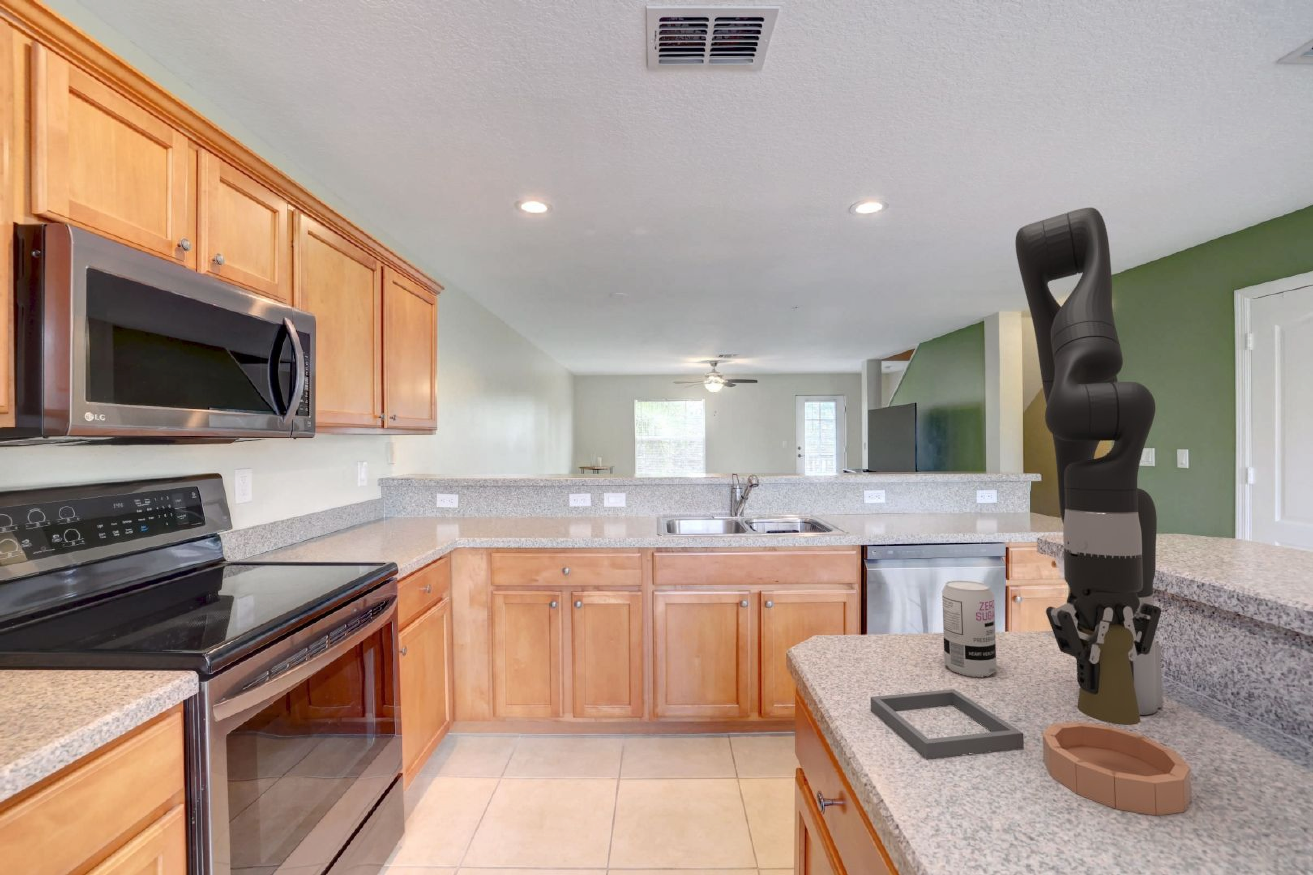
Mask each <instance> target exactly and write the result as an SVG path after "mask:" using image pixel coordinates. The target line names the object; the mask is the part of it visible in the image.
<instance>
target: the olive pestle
mask: <svg viewBox="0 0 1313 875" xmlns="http://www.w3.org/2000/svg"><path fill="white" fill-rule="evenodd" d="M1081 631H1082V632H1083V633H1086V634H1089V635H1091V636H1092V635H1093V634H1094V632H1095V631H1090V630H1088V629H1084V628H1083V627H1082V626H1081ZM1083 642H1084V644H1085V645H1086V648H1085V650H1088V646H1089V642H1088V641H1087V640H1084V639H1083ZM1133 645H1134V637H1133V634H1132V632H1131V631H1130V630H1129V629H1128V628H1125V627H1123V626H1121V625H1118V624H1115V625H1109V628H1108V631H1107V633H1106V634H1105V638H1104V644H1102V645H1099V648H1100V656H1099V661H1098V662H1097V663H1099V664H1100V678H1099V688H1098V693H1097V694H1091V693H1089V692H1087V691H1085V690H1083V689H1082V688H1081V687H1080V686H1079V691H1078V699H1077V705H1076V706H1077V707H1076V709H1078V711H1079V712H1080V713H1082V714H1083V715H1085V716H1087V717H1089V718H1092V719H1094V720H1098V721H1100V722H1104V723H1109V724H1114V725H1121V726H1133V725H1138V724H1140V723H1141V715H1140V714H1139V709H1138V703H1137V698H1136V693H1135V687H1134V682H1133V677H1132V671H1131V666H1130V660H1129V655H1128V653H1129V652H1130V651H1131V650H1132V648H1133Z"/></svg>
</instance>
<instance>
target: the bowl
mask: <svg viewBox="0 0 1313 875" xmlns="http://www.w3.org/2000/svg"><path fill="white" fill-rule="evenodd" d="M1042 754H1043V755H1042V758H1043V763H1044V765H1045V767H1046V769H1047V771H1048V772H1049V775H1050V777H1052V778H1053V779H1055V780H1056V781H1057V782H1059V783H1060V784H1062V785H1063V786H1064V787H1066V788H1067V789H1069V790H1071V791H1072V792H1073V793H1075V794H1077V795H1079V796H1081V797H1083V798H1087V799H1089V800H1091V801H1094V802H1097V803H1100V804H1102V805H1104V806H1107V807H1110V808H1112V809H1116V810H1120V811H1126V812H1127V811H1128V812H1131V813H1132V812H1133V813H1139V814H1145V815H1148V816H1155V817H1156V816H1165V815H1173V814H1178V813H1180V814H1181V813H1185V812H1186V810H1187V808H1188V806H1189V805H1190V802H1191V800H1192V782H1191V781H1192V780H1191V778H1192V777H1191V767H1190V765H1189V764H1188V763H1187V762H1186V761H1185V760H1184V759H1183V757H1181V756H1180V755H1179V754H1178V753H1177V751H1175V750H1173V749H1172V748H1170V747H1168V746H1166V745H1163V744H1162V743H1160V742H1157V741H1156V740H1154V739H1152V738H1150V737H1148V736H1145V735H1144V734H1140V733H1139V734H1138V733H1136V732H1133V731H1132V732H1131V731H1130V730H1126V729H1122V728H1118V727H1116V726H1113V725H1112V726H1111V725H1107V724H1099V723H1091V722H1084V721H1069V722H1060V723H1059V722H1058V723H1052V724H1051V725H1050V726H1049V727H1048V728H1046V729H1045V730H1044V731H1043V732H1042Z"/></svg>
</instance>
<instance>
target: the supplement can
mask: <svg viewBox="0 0 1313 875" xmlns="http://www.w3.org/2000/svg"><path fill="white" fill-rule="evenodd" d="M990 587H991V586H990V585H988V584H985V583H982V582H977V581H971V580H950V581H947V582H945V585H944V587H943V589H942V591H941V592H942V593H941V595H942V596H941V597H942V598H941V599H942V601H941V602H942V626H943V630H942V632H943V654H944V655H943V656H944V657H943V658H944V659H943V660H944V665H946V667H947V668H948V669H949V670H950V671H951V670H952V672H953V671H954V673H955V672H957V673H956V674H958V673H959V674H958V675H961V674H962V676H965V675H966V677H970V676H977V677H976V678H983V677H982V676H987V677H991V676H992V675H993V674H994V673H995V672H996V671H997V668H998V667H997V643H996V641H997V640H996V638H997V637H996V612H995V609H996V606H995V595H994V593H993V592H992V590H991V588H990ZM992 673H993V674H992ZM991 674H992V675H991ZM990 675H991V676H990ZM978 676H979V677H978Z"/></svg>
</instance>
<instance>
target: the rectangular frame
mask: <svg viewBox="0 0 1313 875" xmlns="http://www.w3.org/2000/svg"><path fill="white" fill-rule="evenodd" d="M948 705H951V706H953V705H954V706H956V707H957V708H959V709H960V710H962V711H963V712H964V713H963V712H962V711H961V712H962V713H963V714H965V713H966V714H967V715H966V714H965V715H966V716H968V715H969V716H970V717H969V716H968V717H969V718H971V719H972V718H973V719H972V720H974V719H975V720H976V721H975V720H974V721H975V722H977V723H978V722H979V723H981V724H982V725H983V726H982V725H981V724H980V725H981V726H982V727H984V728H985V727H986V728H985V729H987V728H988V729H989V730H988V729H987V730H988V732H981V733H971V734H962V735H960V734H959V735H953V736H944V737H934V738H928V737H927V736H926V735H924V734H923V733H922V732H921V731H920V730H918V729H917V728H916V727H914V725H913V724H911V723H909V722H908V720H906V719H905V718H904V717H902V716H901V715H900V714H899V713H898V712H899V711H907V710H918V709H929V708H938V706H941V707H949V706H948ZM954 706H953V707H954ZM956 707H955V708H956ZM957 708H956V709H957ZM959 709H958V710H959ZM960 710H959V711H960ZM870 711H871V712H872V713H873V714H875V715H876V716H877V717H878V718H879V719H880V720H882V721H883V723H885V724H886V725H888V727H889V728H890V729H891V730H893V731H894V732H895V733H896V734H897V735H898V736H900V737H901V738H902V739H903V740H905V741H904V742H907V744H909V745H910V746H911V747H912V749H915V750H916V751H917V752H918V753H919V754H920V755H921V756H923V757H924V759H926V760H930V759H940V758H948V757H959V756H964V755H963V754H968V755H970V754H969V753H977V754H984V753H983V752H986V753H990V752H989V751H995V752H1000V751H999V750H1003V751H1008V750H1007V749H1012V750H1018V749H1020V748H1021V749H1024V748H1025V747H1024V745H1025V744H1024V732H1022V731H1021V730H1019V729H1017V728H1016V727H1015V726H1013V725H1011V724H1010V723H1008V722H1007V721H1005V720H1004V719H1002V718H1000V717H999V716H997V715H996V714H994V713H992V712H991V711H989V710H988V709H986V708H985V707H983V706H982V705H979V704H978V703H977V702H975V701H974V700H972V699H970V698H969V697H967V696H966V695H964V694H963V693H960V691H958V690H956V689H954V688H951V689H942V690H941V689H940V690H932V691H931V690H930V691H921V692H918V691H917V692H910V693H900V694H899V693H898V694H888V695H877V696H870ZM979 723H978V724H979ZM981 752H982V753H981ZM958 755H959V756H958Z"/></svg>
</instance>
